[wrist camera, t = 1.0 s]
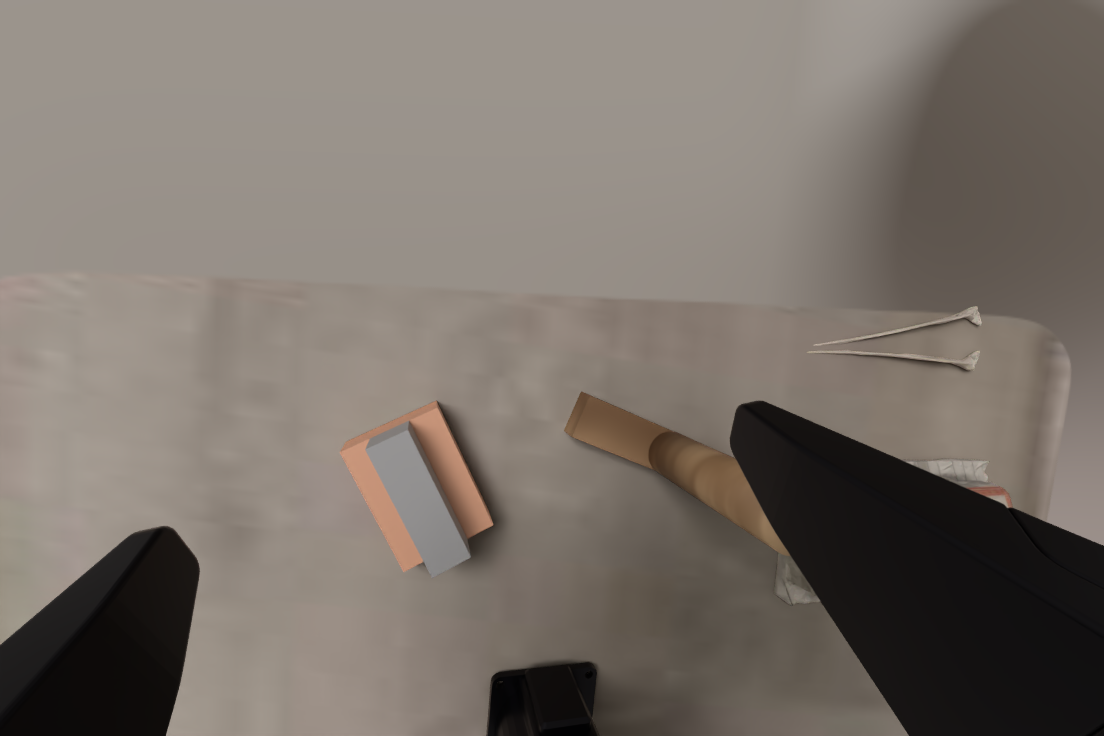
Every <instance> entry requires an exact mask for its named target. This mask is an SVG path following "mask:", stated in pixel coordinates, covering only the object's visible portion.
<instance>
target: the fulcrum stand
mask: <svg viewBox="0 0 1104 736" xmlns="http://www.w3.org/2000/svg"><path fill="white" fill-rule="evenodd" d="M340 454H341V456H342V457H343V459H344V461H345V463H346V465H347V467H348V469H349V471H350V472H351V474H352V476H353V478H354V480H355V482H356V484H357V485H358V487H359V489H360V491H361V493H362V495H363V497H364V499H365V500H366V502H367V504H368V506H369V508H370V510H371V512H372V514H373V515H374V517H375V519H376V521H377V523H378V525H379V527H380V528H381V530H382V532H383V534H384V536H385V538H386V540H387V542H388V543H389V545H390V547H391V549H392V551H393V553H394V555H395V557H396V558H397V560H398V562H399V564H400V566H401V568H402V570H403V571H404V572H405V571H407V570H409V569H410V568H412V567H414V566H416V565H418V564H420V563H422V562H424V563H425V565H426V567H427V569H428V571H429V573H430V575H431V577H432V578H433V577H435V576H437V575H439V574H441V573H443V572H444V571H446V570H448V569H450V568H452V567H454V566H456V565H458V564H460V563H461V562H463V561H465V560H467V559H469V558H471V555H470V550H469V544H468V538H470V537H472V536H474V535H475V534H477V533H479V532H481V531H483V530H485V529H487V528H489V527H491V526H493V522H492V519H491V516H490V513H489V510H488V508H487V506H486V504H485V502H484V499H483V497H482V495H481V493H480V491H479V489H478V487H477V485H476V483H475V481H474V478H473V476H472V474H471V472H470V470H469V468H468V466H467V464H466V462H465V460H464V457H463V455H462V453H461V451H460V449H459V447H458V445H457V443H456V441H455V439H454V436H453V434H452V432H451V430H450V428H449V426H448V424H447V422H446V420H445V418H444V415H443V413H442V411H441V409H440V407H439V405H438V403H437V401H435V402H433V403H430V404H428V405H426V406H424V407H422V408H419V409H417V410H415V411H413V412H411V413H408V414H406V415H404V416H402V417H400V418H397V419H395V420H393V421H391V422H389V423H386V424H384V425H382V426H380V427H378V428H375V429H373V430H371V431H369V432H367V433H364V434H362V435H360V436H358V437H356V438H353V439H351V440H349V441H347V442H346V443H345V445H344V446H343V448H342V450H341V451H340Z"/></svg>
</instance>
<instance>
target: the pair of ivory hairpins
mask: <svg viewBox="0 0 1104 736" xmlns="http://www.w3.org/2000/svg"><path fill="white" fill-rule="evenodd" d="M977 310H978V307H977V306H974V307H970V308H968V309H966V310H964V311H962V312H960V313H957V314H955V315H952V316H950V317H946V318H942V319H938V320H934V321H931V322H927V323H923V324H919V325H914V326H910V327H905V328H901V329H896V330H891V331H887V332H882V333H877V334H872V335H868V336H862V337H857V338H850V339H843V340H839V341H832V342H827V343H822V344H816V345H813V346H819V345H827V344H844V343H849V342H853V341H860V340H864V339H867V338H872V337H878V336H883V335H888V334H893V333H898V332H902V331H906V330H911V329H915V328H919V327H924V326H928V325H933V324H941V323H947V322H950V321H952V320H956V319H960V318H966V319H968V320H970V321H971V322H972V323H974V324H976V325H979V326H980V325H982V322H981V318H980V316H979V315H980V314H979V313H978V312H977ZM807 353H830V354H858V355H874V356H889V357H900V358H909V359H917V360H928V361H937V362H943V363H945V362H947V363H951V364H954V365H957V366H960V367H962V368H964V369H966V370H974V369H975V367H974V366H975V364H976V363H977V359H978V358H979V355H980V351H975V352H972V353H971V354H970V355H968V356H967V357H966V358H964V359H962V360H955V359H949V358H945V357H932V356H923V355H915V354H891V353H874V352H860V351H850V350H838V351H812V352H807Z"/></svg>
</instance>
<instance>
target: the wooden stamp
mask: <svg viewBox="0 0 1104 736" xmlns="http://www.w3.org/2000/svg"><path fill="white" fill-rule="evenodd" d="M564 431H565V432H566V433H568V434H569V435H570V436H571V437H573V438H576V439H578V440H581V441H583V442H586V443H588V444H591V445H593V446H596V447H598V448H601V449H603V450H606V451H608V452H611V453H613V454H616V455H618V456H621V457H623V458H626V459H628V460H631V461H633V462H636V463H638V464H641V465H643V466H646V467H648V468H650V469H653V470H655V471H657V472H658V473H660V474H661V475H663V476H664V477H666V478H667V479H669V480H670V481H672V482H673V483H675V484H676V485H678V486H679V487H681V488H682V489H684V490H685V491H687V492H688V493H690V494H691V495H693V496H694V497H696V498H697V499H699V500H700V501H702V502H703V503H705V504H706V505H708V506H709V507H711V508H712V509H714V510H715V511H717V512H718V513H720V514H721V515H723V516H724V517H726V518H727V519H729V520H730V521H732V522H733V523H735V524H736V525H738V526H739V527H741V528H742V529H744V530H745V531H747V532H748V533H750V534H751V535H753V536H754V537H756V538H758V539H759V540H761V541H762V542H764V543H765V544H767V545H768V546H770V547H771V548H773V549H774V550H776V551H777V552H779V553H780V554H782V555H785V556H790V554H789V553H788V551H787V550H786V548H785V547H784V545H783V544H782V542H781V541H780V539H779V538H778V536H777V534H776V533H775V531H774V530H773V528H772V526H771V525H770V523H769V521H768V519H767V518H766V516H765V514H764V512H763V510H762V508H761V506H760V504H759V502H758V501H757V499H756V497H755V495H754V493H753V491H752V489H751V487H750V485H749V483H748V481H747V480H746V478H745V476H744V474H743V472H742V470H741V468H740V466H739V464H738V462H737V460H736V459H735V458H733V457H731V456H728V455H726V454H724V453H721V452H719V451H717V450H715V449H712V448H710V447H708V446H705V445H703V444H701V443H699V442H697V441H694V440H692V439H690V438H688V437H686V436H683V435H681V434H679V433H677V432H673V431H671V430H669V429H666V428H664V427H662V426H659V425H657V424H655V423H653V422H650V421H648V420H646V419H643V418H641V417H639V416H636V415H634V414H632V413H630V412H627V411H625V410H623V409H620V408H618V407H616V406H613V405H611V404H609V403H607V402H604V401H602V400H600V399H597V398H595V397H593V396H590V395H588V394H586V393H584V392H581V393H580V395H579V398H578V400H577V402H576V404H575V407H574V409H573V411H572V414H571V416H570V418H569V420H568V423H567V425H566V427H565V430H564Z"/></svg>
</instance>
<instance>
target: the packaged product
mask: <svg viewBox="0 0 1104 736" xmlns="http://www.w3.org/2000/svg"><path fill="white" fill-rule="evenodd" d="M902 461H905V462H907V463H909V464H912V465H914V466H916V467H919V468H921V469H923V470H926V471H928V472H930V473H933V474H935V475H937V476H940V477H942V478H944V479H947V480H949V481H951V482H954V483H956V484H958V485H961V486H963V487H965V488H968V489H970V490H972V491H975V492H977V493H979V494H982V495H984V496H986V497H989V498H991V499H993V500H996V501H998V502H1000V503H1003V504H1004V505H1006V507H1007V508H1009V507H1012V508H1013V506H1012V502H1011V499H1010V496H1009V493H1008V492H1007V491H1006V490H1005V489H1003V488H1002V487H1000V486H998V485H996V484H994V483H993V482H987V479H988V476H987V475H986V474H985V473H984V471H985V468H986V466H987V464H988V462H990V461H984V460H975V459H938V460H902ZM774 593H775V595H777V596H778V597H779V598H781V599H782V600H784V601H785V602H786V603H788V604H789V605H790V606H792V605H794V604H796V603H803V604H807V603H811V602H821V601H820V600H819V598H818V597H817V595H816V594H815V592H814V591H813V589H812V588H811V586H810V585H809V583H808V582H807V580H806V579H805V577H804V576H803V574H802V572H801V571H800V569H799V568H798V566H797V565H796V563H795V562H794V560H793V559H792V557H791V556H785V555H782V554H780V553H779V552H778V559H777V569H776V578H775V587H774Z"/></svg>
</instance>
